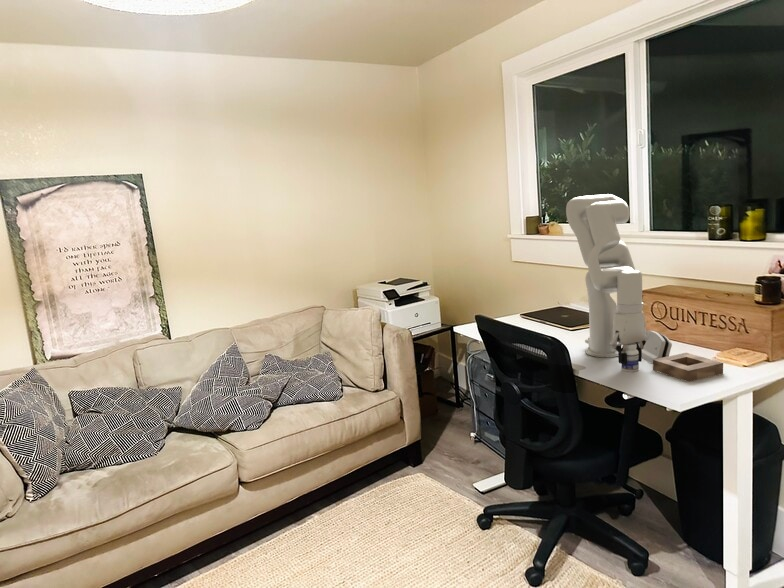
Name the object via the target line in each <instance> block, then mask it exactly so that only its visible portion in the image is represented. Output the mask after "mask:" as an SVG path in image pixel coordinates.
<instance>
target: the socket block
mask: <svg viewBox="0 0 784 588" xmlns="http://www.w3.org/2000/svg"><path fill="white" fill-rule="evenodd" d="M654 370H655V372H657V371H658V372H657V373H660V372H661V373H660V374H663V375H666V374H667V376H669V377H672V378H676V379H679V380H681V379H682V380H681V381H685V382H687V383H689V382H695V381H698V380H702V379H706V378H711V377H714V376H715V375H716V376H720V375H723V374H724V362H721V361H717V360H714V359H711V358H708V357H707V358H706V357H705V356H704V357H703V356H700V355H696V354H693V353H689V352H683V353H679V354H673V355H669V356H668V357H663V358H658V359H654V360H653V364H652V371H654ZM719 374H720V375H719Z"/></svg>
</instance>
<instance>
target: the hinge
mask: <svg viewBox="0 0 784 588" xmlns="http://www.w3.org/2000/svg"><path fill="white" fill-rule="evenodd" d="M646 333H647V334H648V336H649V339H648V340H647V341H646V343H645V345H644V346H643V347H644V348H643V350H642V359H643V360H644V361H646V362H648V363H650V364H652V365H653V360H654V359H658V358H663V357H668V356H670V353H671V349H672V346H673V343H672V341H671V340H670V339H669V338H668V337H667V336H666V335H664V334H662V333H661V332H657V331H654V330H646Z"/></svg>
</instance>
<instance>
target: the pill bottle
mask: <svg viewBox="0 0 784 588" xmlns="http://www.w3.org/2000/svg"><path fill="white" fill-rule="evenodd" d="M636 348H637V344H636V343H631V344H627V347H626V351H625V353H627V365H623V364H621V371H624V372H627V373H628V372H629V373H630V372H632V373H635V372H638V371H639V368H640V367H639V366H640V365H639V364H640V363H639V352H638V350H636Z"/></svg>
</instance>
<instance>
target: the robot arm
mask: <svg viewBox="0 0 784 588" xmlns="http://www.w3.org/2000/svg"><path fill="white" fill-rule="evenodd" d="M565 213H566V214H565V215H566V220H567V222H568V225H569V227H570V229H571V230H572V232H573V234H574V235H575V237H576V239H577V243H578V247H579V250H580V253H581V257H582V259H583V262H584V264H585V266H587V269H588V272H586V274H585V285H586V291H587V297H588V314H589V315H588V317H589V318H588V319H589V320H588V322H589V324H588V326H589V336H588V338H587V339H585V340H584V342H585V344H588V347H586V349H585V353H586V354H587V355H589V356H591V357H596V358H597V357H598V358H614V357H617V358H618V361H617V362H618V363H619V364H621V365H622V364H623V365H627V353H625V351H626V347H627V344H631V343H636V344H637V348H636V350H638V352H639V362H640V363H641V362H642V361H643V360H642V359H643V358H642V350H643V348H644V347H643V346H644V345H645V343H646V341H647V340H648V339H649V336H648V334H647V333H646V331H647V327H646V318H645V314H644V313H645V312H644V311H643V307H644V306H645V304H644V302H643V274H642V272H641V271H640V270H637V269H636V267H635V264H634V261H633V259H632V256H631V252H630V250H629V248H628V246H627V244H626V243H625V242H624V241H622V240H621V235H620V233H619V229H618V227H617V225H622V224H623V225H624V224H626V223H627V222H629V219H630V216H631V211H630V208H629V205H628V204H627V202H626V201H625V200H623V199H622V198H620V197H618V196H616V195H614V194H611V193H610V194H609V193H607V194H605V193H604V194H594V195H593V194H592V195H583V196H581V195H580V196H577V197H573V198H572V199H570V200H569V201H567V203H566V207H565ZM615 293H616V301H615V299H613V297H612V296H611V295H610V294H615Z"/></svg>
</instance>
